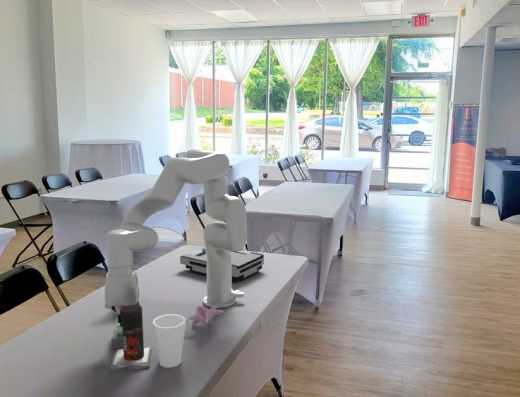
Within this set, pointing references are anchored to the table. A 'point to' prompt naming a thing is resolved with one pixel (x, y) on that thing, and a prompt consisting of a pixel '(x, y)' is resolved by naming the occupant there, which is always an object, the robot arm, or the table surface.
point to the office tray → (240, 263)
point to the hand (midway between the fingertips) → (123, 324)
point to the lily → (204, 315)
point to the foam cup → (169, 338)
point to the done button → (119, 329)
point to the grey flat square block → (123, 364)
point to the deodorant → (132, 332)
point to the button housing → (117, 340)
